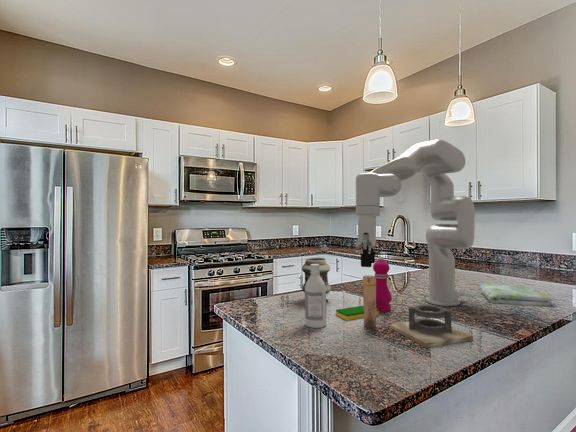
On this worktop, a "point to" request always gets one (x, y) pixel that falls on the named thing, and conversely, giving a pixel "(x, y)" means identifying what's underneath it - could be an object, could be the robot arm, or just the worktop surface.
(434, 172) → the robot arm
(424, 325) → the collar stand
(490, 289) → the towel
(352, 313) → the dish sponge
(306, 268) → the apothecary jar
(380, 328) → the worktop surface
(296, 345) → the worktop surface
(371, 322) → the tan cylinder
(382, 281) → the pepper mill
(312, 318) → the bath foam
